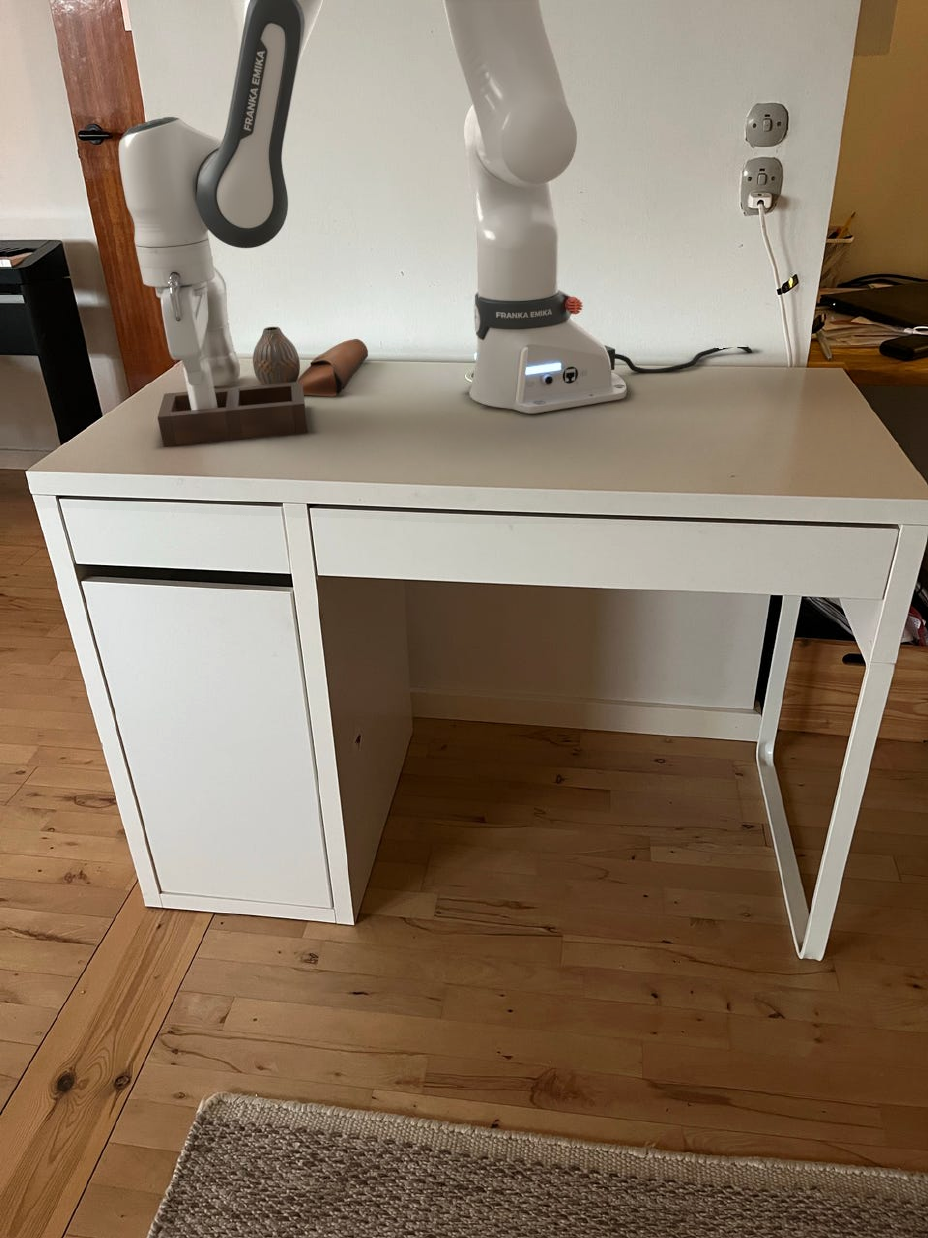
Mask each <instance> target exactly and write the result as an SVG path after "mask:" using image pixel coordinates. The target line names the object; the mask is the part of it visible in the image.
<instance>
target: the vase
mask: <svg viewBox="0 0 928 1238" xmlns="http://www.w3.org/2000/svg"><path fill="white" fill-rule="evenodd" d="M300 362H301V361H300V357H299V353H298V351H297V349H296V347H295V345H294V343H292V342H291V340H290V339H289V338H288V337H287V336H286V335H285V334H284V332H283V331H282V329H281V327H279V326H267V327H265V328H263V329H262V333H261V336H260V338H259V340H258V342H257V343H256V345H255V347H254V350H253V354H252V367H253V372H254V374H255V377H256V379H257V380H258V382H259V384H260V385H269V384H280V383H292V382H296V381H297V380H298V379H299V378H300V373H301V363H300Z"/></svg>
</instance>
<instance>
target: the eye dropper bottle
mask: <svg viewBox="0 0 928 1238" xmlns="http://www.w3.org/2000/svg"><path fill="white" fill-rule="evenodd" d="M199 358H200V365H201V368H202V374H203V383H202V384H200V385H190V384H189V382H188V377H187V372H186V370H185V367H184V366H183V375H184V380H185V386H186V390H187V392H188V395H189V400H190V405H191V410H201V409H212V408H218V406H217V401H216V396H215V390H214V389H215V386H214V385H213V380H212V374H211V369H210V366H209V364H208V362H207V361H206V360H205V359H204V353H203V348H202V352H201V356H200V357H199Z"/></svg>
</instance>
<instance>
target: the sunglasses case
mask: <svg viewBox="0 0 928 1238" xmlns="http://www.w3.org/2000/svg"><path fill="white" fill-rule="evenodd" d="M368 357H369V350H368V347H367V345H366V344H365V342H364V341H362V340H361V339H359V338H353V339H348V340H345V341H342V342H340V343H338V344H335V345H334V346H332V347H331V348H329V349H328V350H326V351H325V352H323V353H321V354H319V355H318V356H316V357H315V358H314V359H312V361H311V362H310V366H309V367H308V368H306V369H305V371H303V372H302V374H301V375H299V377H298V379H297V381H296V382H302V386H303V394H304V396H308V397H327V398H329V397H332V398H333V397H337V396H339V395H341V393H342V392H343V391H344V390H345V389H346V387H347V386H348V383H349V382H350V380H351V379H352V378H353V375H354V374H355V373H356V372H357V370H358V369H360V367H361V365H362V364H363V363H364V362H365V360H367V358H368Z"/></svg>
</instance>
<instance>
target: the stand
mask: <svg viewBox="0 0 928 1238" xmlns="http://www.w3.org/2000/svg"><path fill="white" fill-rule="evenodd" d="M214 390H215V396H216V401H217V406H218V408H212V409H201V410H191V405H190V400H189V395H188V391H179V392H177V391H176V392H167V393H166V392H165V393H164V395H163V397H162V401H161V404H160V408H159V411H158V414H157V417H156V418H157V422H158V427H159V433H160V437H161V441H162V446H163V447H173V446H174V447H175V446H183V445H195V444H204V443H205V444H206V443H215V442H216V443H217V442H226V441H236V440H237V441H238V440H247V439H257V438H267V437H268V438H269V437H279V436H288V435H300V434H308V433H309V429H308V421H307V420H308V418H307V412H306V403H305V395H304V394H303V386H302V382H292V383H280V384H269V385H262V384H259V385H248V386H236V387H235V386H234V387H224V388H223V387H222V388H214Z"/></svg>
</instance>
